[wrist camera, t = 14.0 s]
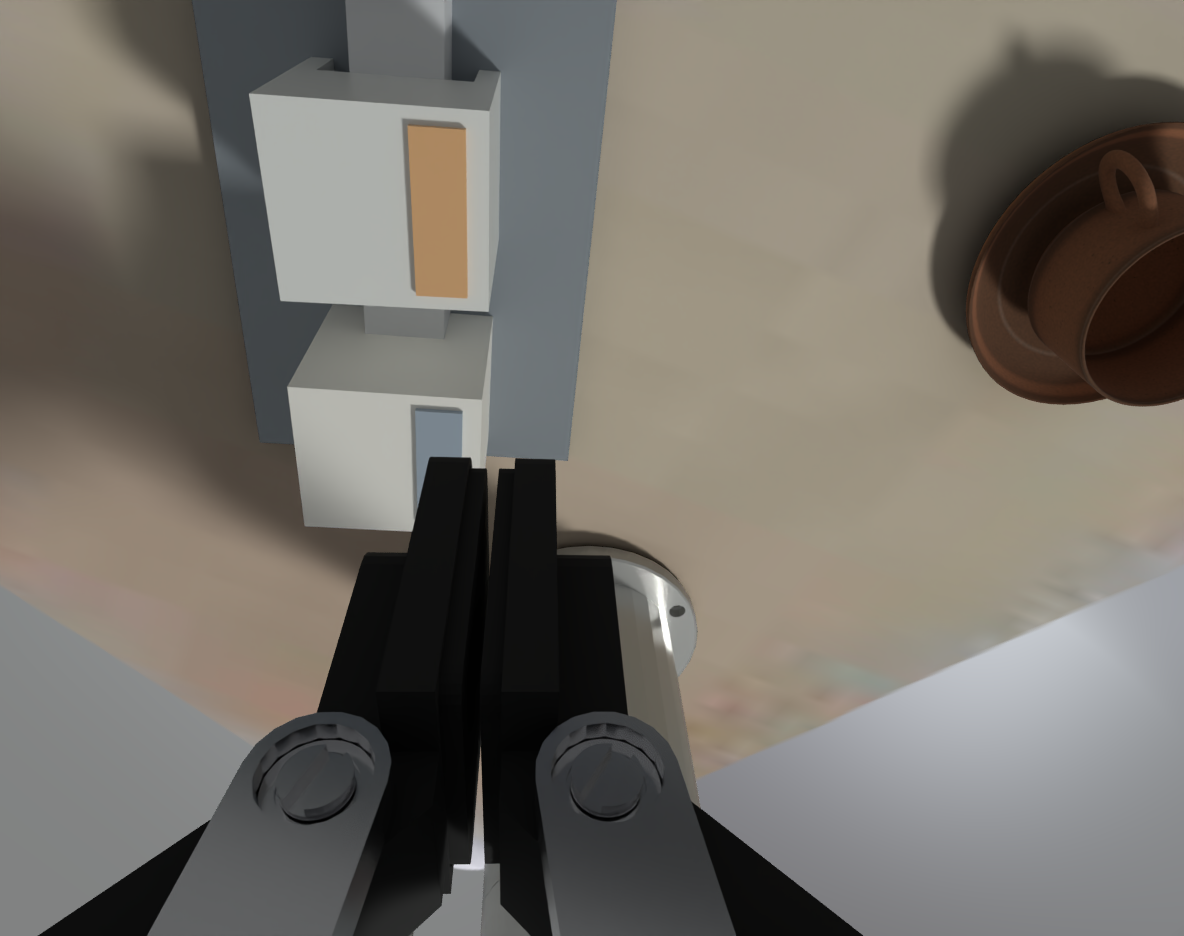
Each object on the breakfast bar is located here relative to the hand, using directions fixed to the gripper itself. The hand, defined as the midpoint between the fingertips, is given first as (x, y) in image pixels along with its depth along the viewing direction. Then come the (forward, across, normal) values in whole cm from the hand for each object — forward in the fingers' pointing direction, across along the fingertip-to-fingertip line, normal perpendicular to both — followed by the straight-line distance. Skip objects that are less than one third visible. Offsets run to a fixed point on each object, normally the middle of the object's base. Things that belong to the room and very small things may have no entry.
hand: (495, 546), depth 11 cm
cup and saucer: (+24, -24, +3) cm, 34 cm away
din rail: (+24, +4, +3) cm, 24 cm away
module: (+22, +4, 0) cm, 23 cm away
